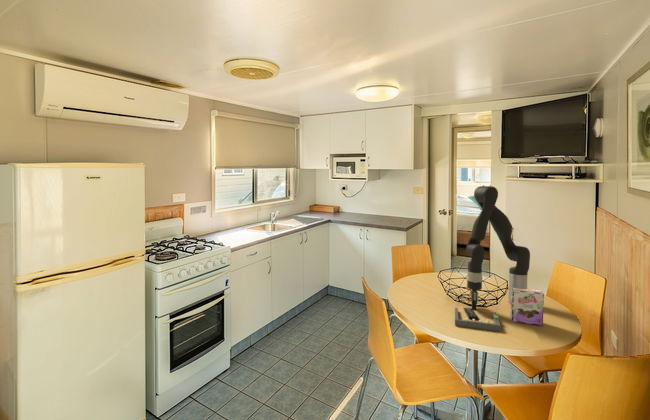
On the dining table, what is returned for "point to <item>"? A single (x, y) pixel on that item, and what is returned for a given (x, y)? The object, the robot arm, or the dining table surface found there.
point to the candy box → (527, 306)
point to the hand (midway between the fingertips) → (473, 310)
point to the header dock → (478, 323)
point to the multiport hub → (470, 314)
